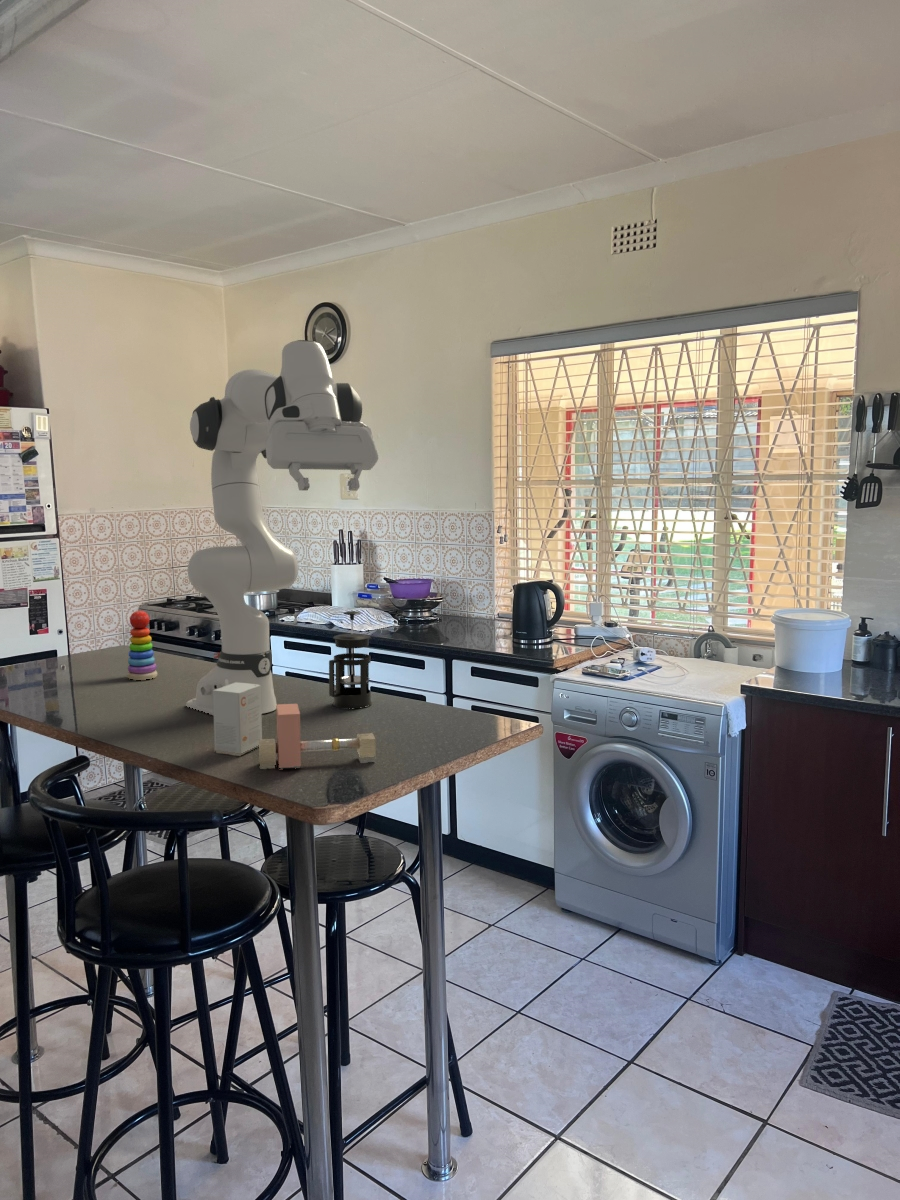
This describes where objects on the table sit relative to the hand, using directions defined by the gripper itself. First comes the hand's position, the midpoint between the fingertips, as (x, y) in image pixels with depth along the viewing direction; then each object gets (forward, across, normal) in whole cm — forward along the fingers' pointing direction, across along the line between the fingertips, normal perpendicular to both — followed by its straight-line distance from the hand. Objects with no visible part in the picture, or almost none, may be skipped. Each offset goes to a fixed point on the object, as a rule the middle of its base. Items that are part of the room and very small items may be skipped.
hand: (329, 489), depth 160 cm
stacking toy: (+1, +16, -115) cm, 116 cm away
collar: (+42, +5, -33) cm, 54 cm away
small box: (+36, +11, -46) cm, 59 cm away
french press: (+25, -24, -67) cm, 76 cm away
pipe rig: (+43, 0, -32) cm, 54 cm away
